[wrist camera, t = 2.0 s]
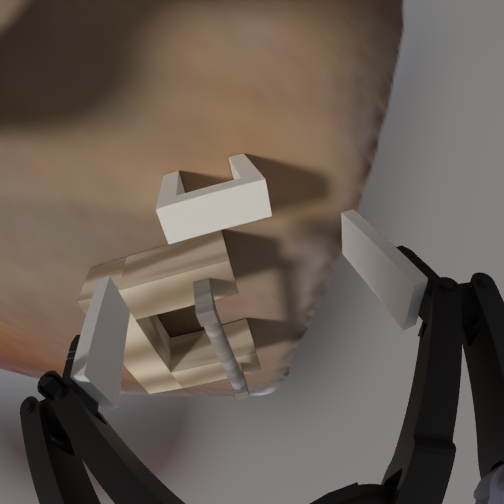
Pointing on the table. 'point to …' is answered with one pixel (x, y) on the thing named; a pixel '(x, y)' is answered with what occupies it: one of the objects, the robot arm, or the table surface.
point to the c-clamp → (172, 298)
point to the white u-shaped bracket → (212, 202)
